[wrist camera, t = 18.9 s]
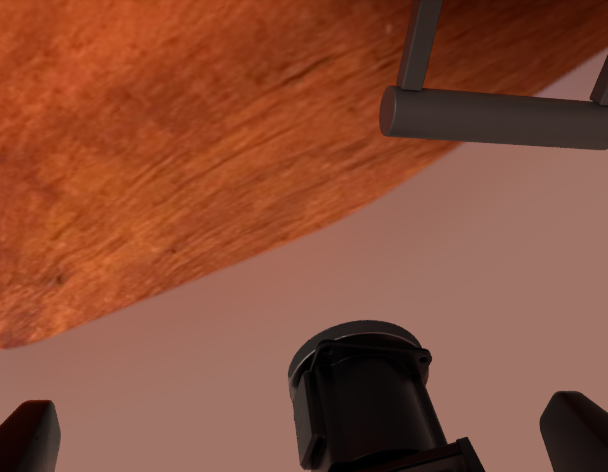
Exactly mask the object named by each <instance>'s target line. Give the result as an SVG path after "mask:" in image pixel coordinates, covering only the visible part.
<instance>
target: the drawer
mask: <svg viewBox="0 0 608 472" xmlns="http://www.w3.org/2000/svg"><path fill="white" fill-rule="evenodd" d="M442 3H443V0H414V1H413V6H412V11H411V16H410V20H409V25H408V30H407V35H406V39H405V44H404V49H403V54H402V58H401V63H400V68H399V73H398V78H397V85H398V86H389V87H387V88H386V90H385V92H384V94H383V97H382V101H381V106H380V115H379V122H380V129H381V132H382V134H383V135H384V136H388V137H403V138H419V139H434V140H450V141H466V142H481V143H498V144H513V145H529V146H545V147H560V148H575V149H591V150H606V149H608V55H607V58H606V60H605V62H604V65H603V67H602V70H601V72H600V74H599V77H598V79H597V81H596V84H595V87H594V88H593V91H592V93H591V96H590V100H592V101H593V102H590V101H578V100H564V99H553V98H540V97H528V96H515V95H503V94H490V93H478V92H465V91H453V90H440V89H428V88H422V87H423V83H424V79H425V74H426V70H427V66H428V62H429V58H430V53H431V49H432V45H433V41H434V37H435V33H436V28H437V24H438V20H439V16H440V12H441V7H442Z"/></svg>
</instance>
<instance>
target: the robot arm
mask: <svg viewBox="0 0 608 472" xmlns="http://www.w3.org/2000/svg"><path fill="white" fill-rule="evenodd" d="M326 348H329V349H326ZM431 361H432V356H431V354H430V352H429V350H428V349H425V348H416V347H406V346H395V345H385V344H374V343H364V342H354V341H343V340H333V339H324V340H322V341H320V342H319V343H318V345H317V347H316V350H315V353H314V356H313V359H312V361H311V364H310V367H309V370H308V371H305V372H304V373H303V375H302V377H301V380H300V383H299V386H298V389H297V392H296V395H295V398H294V401H293V409H294V421H295V426H296V435H297V443H298V452H299V460H300V465H301V467H302V468H303V469H304V470H311V472H485V470H484V468H483V466H482V464H481V462H480V460H479V458H478V456H477V454H476V452H475V450H474V449H473V447H472V445H471V443H470V441H469V439H468V437H464V438H461V439H457V440H456V442H454V443H450V444H448V443H447V441H446V438H445V436H444V433H443V431H442V428H441V425H440V423H439V421H438V418H437V415H436V413H435V410H434V408H433V405H432V402H431V400H430V397H429V395H428V392H427V389H426V387H425V384H424V382H423V379H422V378H423V376H424V374H425V373H426V371H427V369H428V367H429V365H430V363H431ZM540 431H541V434H542V437H543V440H544V443H545V446H546V449H547V452H548V455H549V458H550V461H551V464H552V467H553V470H554V472H608V413H607V412H606V411H605V410H603V409H602V408H601V407H599V406H598V405H597V404H595V403H594V402H593V401H591V400H590V399H589V398H587V397H586V396H584V395H583V394H582V393H580V392H577V391H558V392H556V393H555V394H554V395H553V396H552V398H551V400H550V401H549V403H548V405H547V407H546V408H545V410H544V412H543V414H542V416H541V418H540ZM60 437H61V432H60V427H59V423H58V418H57V414H56V410H55V406H54V404H53V402H52V401H51V400H29V401H26V402H24V403H22V404H21V405H20V406H19V407H18V408H17V409H16V410H15V411H14V412H13V413H12V414H11V415H10V416H9V417H8V418H7V419H6V420H5V421H4V422H3V423H2V424H1V425H0V472H54V471H55V466H56V461H57V456H58V451H59V446H60Z"/></svg>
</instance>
